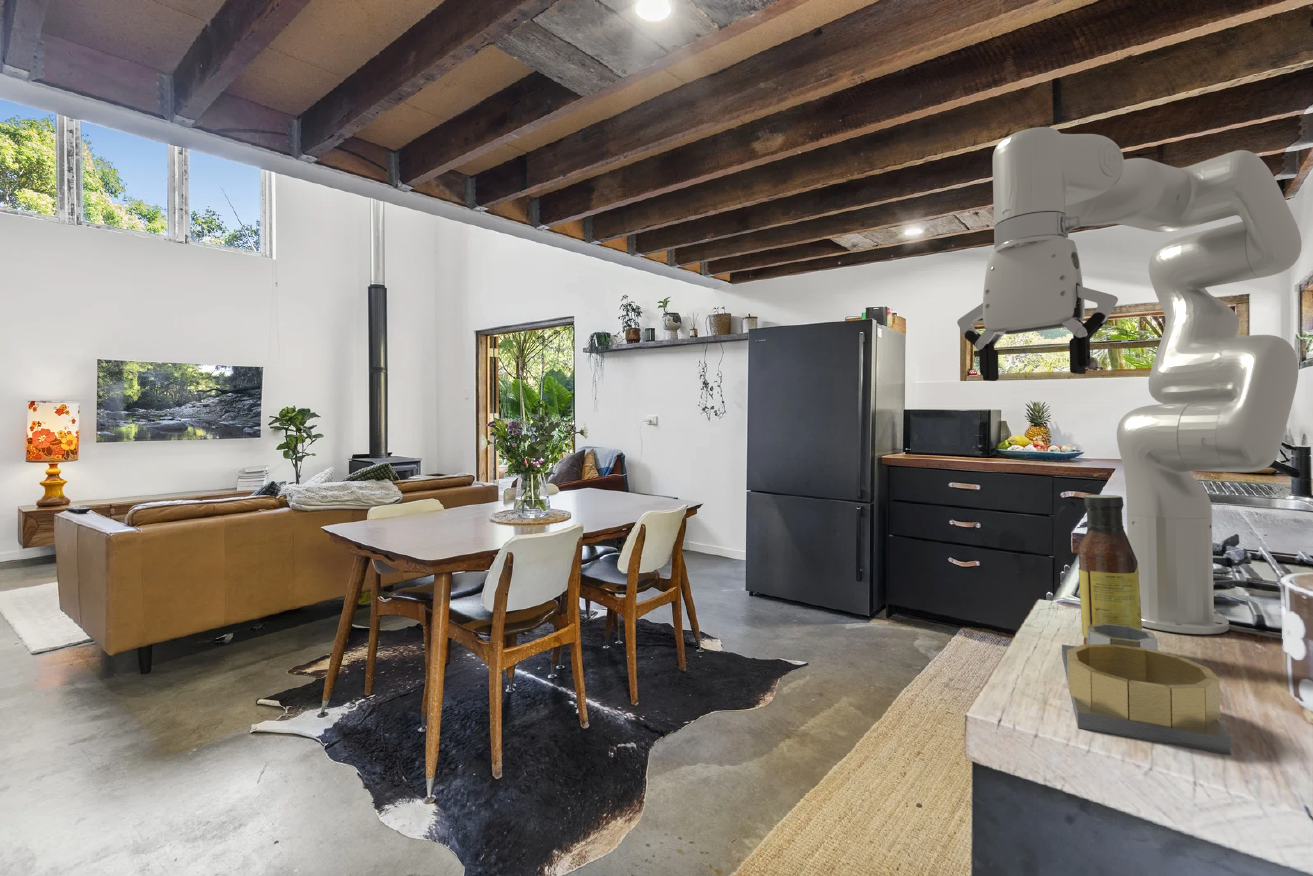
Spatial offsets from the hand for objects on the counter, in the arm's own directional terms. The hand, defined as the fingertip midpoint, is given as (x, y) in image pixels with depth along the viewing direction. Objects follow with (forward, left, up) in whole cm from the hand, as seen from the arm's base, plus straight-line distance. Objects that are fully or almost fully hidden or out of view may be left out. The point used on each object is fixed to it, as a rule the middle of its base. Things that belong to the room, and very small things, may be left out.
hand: (1032, 377), depth 75 cm
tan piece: (+7, +8, -35) cm, 37 cm away
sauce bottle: (-8, +8, -35) cm, 37 cm away
